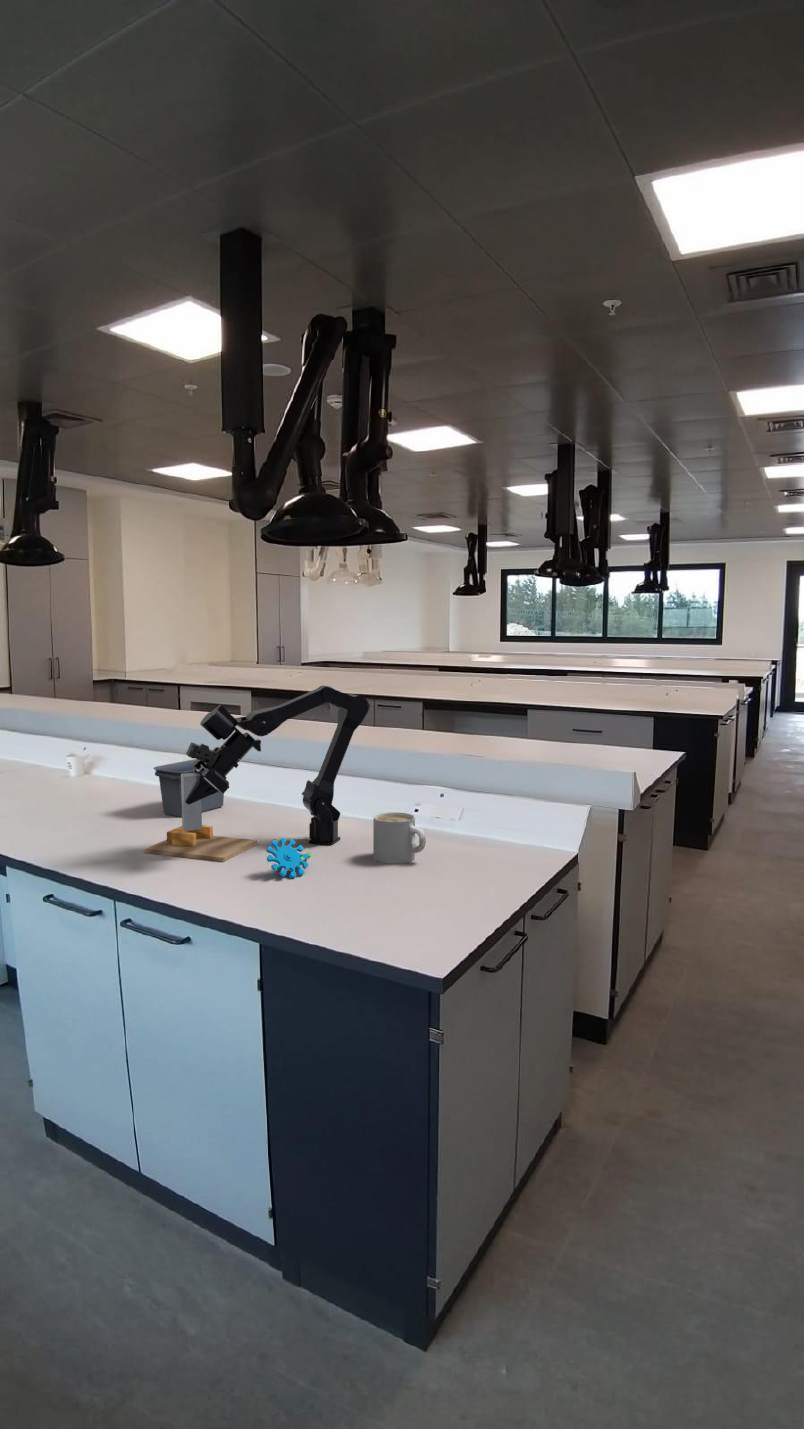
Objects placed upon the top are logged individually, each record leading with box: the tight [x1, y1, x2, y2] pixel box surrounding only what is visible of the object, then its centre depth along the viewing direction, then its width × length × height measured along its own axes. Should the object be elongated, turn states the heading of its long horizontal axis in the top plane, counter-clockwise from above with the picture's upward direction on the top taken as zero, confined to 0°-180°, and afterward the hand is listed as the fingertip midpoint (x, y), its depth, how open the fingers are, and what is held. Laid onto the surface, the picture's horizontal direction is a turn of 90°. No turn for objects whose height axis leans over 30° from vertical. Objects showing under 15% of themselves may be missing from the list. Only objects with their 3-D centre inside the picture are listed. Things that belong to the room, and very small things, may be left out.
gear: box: [266, 837, 312, 879], centre depth 169 cm, size 11×6×10 cm
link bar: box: [181, 773, 203, 831], centre depth 180 cm, size 4×4×13 cm
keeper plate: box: [144, 824, 258, 863], centre depth 188 cm, size 22×16×4 cm
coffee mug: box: [372, 811, 427, 865], centre depth 180 cm, size 13×10×10 cm
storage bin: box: [152, 758, 225, 818], centre depth 227 cm, size 21×16×14 cm
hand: (185, 801), depth 179 cm, fingers closed on link bar, 4 cm apart
